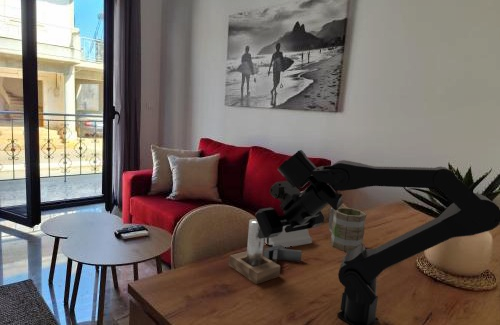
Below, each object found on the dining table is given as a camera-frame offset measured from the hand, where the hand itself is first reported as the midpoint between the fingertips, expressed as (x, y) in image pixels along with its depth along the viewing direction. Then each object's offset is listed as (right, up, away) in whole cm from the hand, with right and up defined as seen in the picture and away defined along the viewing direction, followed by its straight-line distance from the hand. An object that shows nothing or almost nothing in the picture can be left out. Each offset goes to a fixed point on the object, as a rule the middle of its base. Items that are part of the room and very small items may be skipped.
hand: (272, 233), depth 85 cm
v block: (+3, -11, +14) cm, 18 cm away
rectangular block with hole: (-5, -12, +7) cm, 14 cm away
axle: (-5, -12, +7) cm, 14 cm away
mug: (+26, -10, +33) cm, 43 cm away
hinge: (+7, -10, +30) cm, 32 cm away
